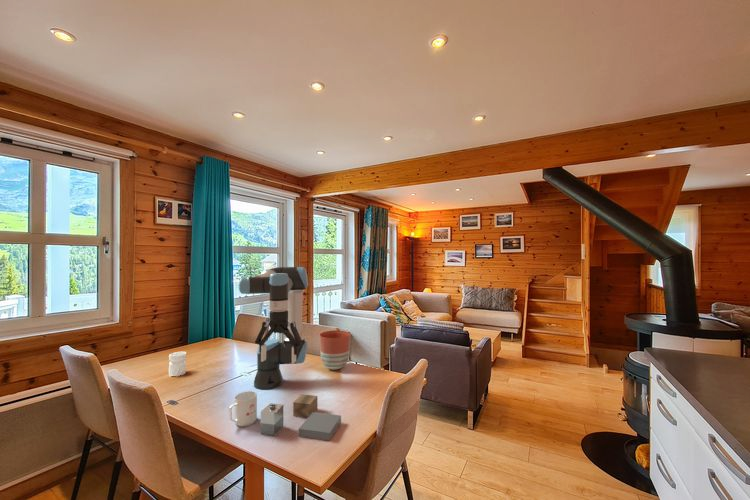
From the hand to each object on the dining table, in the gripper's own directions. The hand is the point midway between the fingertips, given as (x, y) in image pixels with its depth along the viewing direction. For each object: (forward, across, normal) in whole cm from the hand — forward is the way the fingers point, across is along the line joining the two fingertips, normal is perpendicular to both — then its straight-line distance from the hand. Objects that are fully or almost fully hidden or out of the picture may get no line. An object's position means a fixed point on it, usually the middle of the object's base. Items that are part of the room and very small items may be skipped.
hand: (278, 361), depth 127 cm
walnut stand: (+27, +6, +13) cm, 31 cm away
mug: (+27, -16, 0) cm, 32 cm away
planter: (+27, +3, +68) cm, 73 cm away
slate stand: (+27, +18, +2) cm, 32 cm away
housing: (+27, -2, -2) cm, 27 cm away
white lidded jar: (+27, -88, +42) cm, 101 cm away
